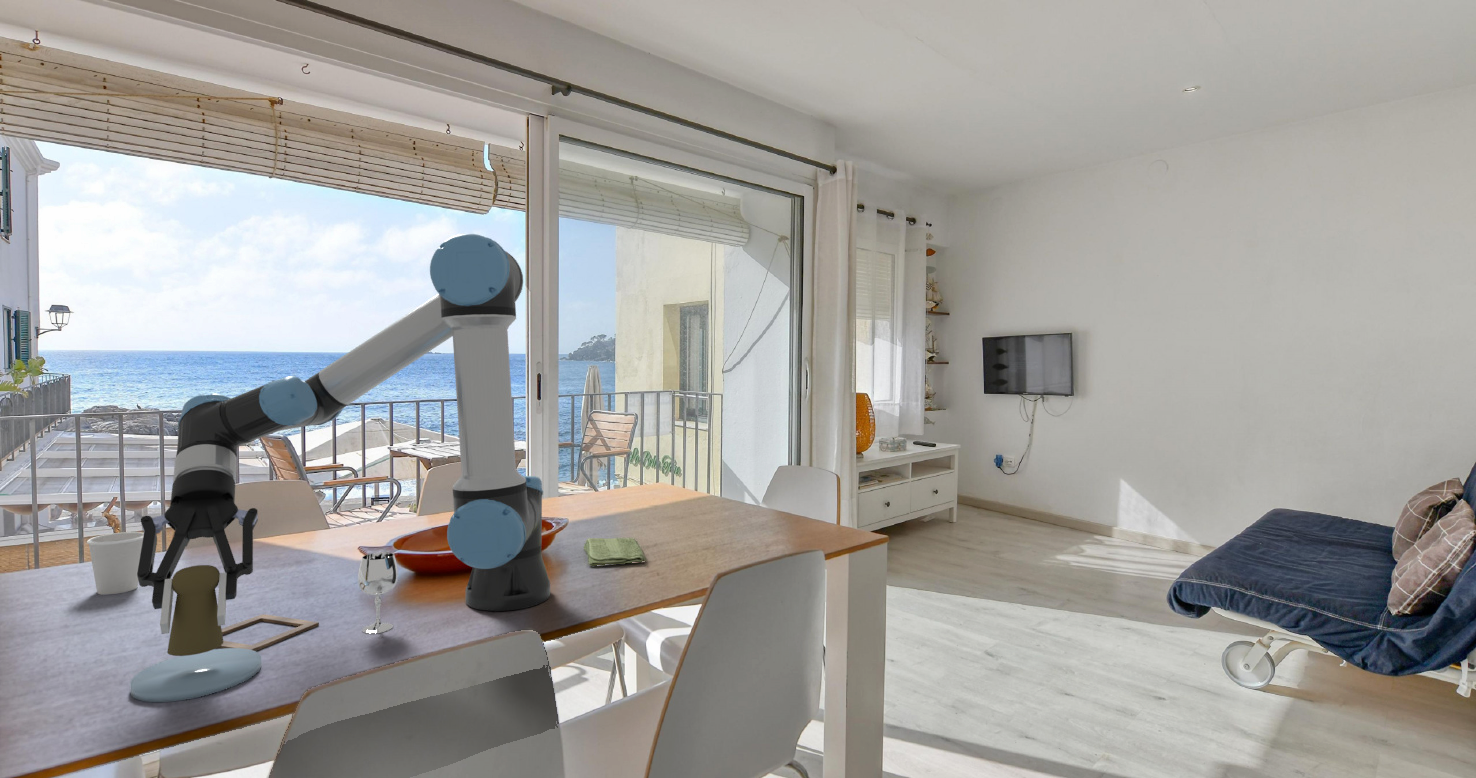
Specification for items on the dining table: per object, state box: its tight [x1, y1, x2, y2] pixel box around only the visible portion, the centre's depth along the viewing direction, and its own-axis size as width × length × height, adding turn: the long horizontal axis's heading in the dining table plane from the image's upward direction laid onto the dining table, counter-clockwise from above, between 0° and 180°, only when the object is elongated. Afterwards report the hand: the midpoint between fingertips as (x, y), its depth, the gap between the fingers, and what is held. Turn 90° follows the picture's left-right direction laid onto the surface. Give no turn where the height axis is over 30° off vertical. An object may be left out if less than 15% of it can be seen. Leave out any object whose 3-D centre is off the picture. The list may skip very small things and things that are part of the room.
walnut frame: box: [217, 613, 320, 652], centre depth 109 cm, size 12×12×1 cm
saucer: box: [130, 648, 262, 703], centre depth 94 cm, size 14×14×1 cm
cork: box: [166, 564, 224, 657], centre depth 94 cm, size 6×6×11 cm
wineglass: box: [357, 551, 399, 635], centre depth 112 cm, size 6×6×12 cm
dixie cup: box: [86, 531, 144, 596], centre depth 129 cm, size 8×8×10 cm
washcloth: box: [583, 537, 647, 567], centre depth 159 cm, size 13×18×3 cm
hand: (193, 624), depth 90 cm, fingers closed on cork, 5 cm apart
